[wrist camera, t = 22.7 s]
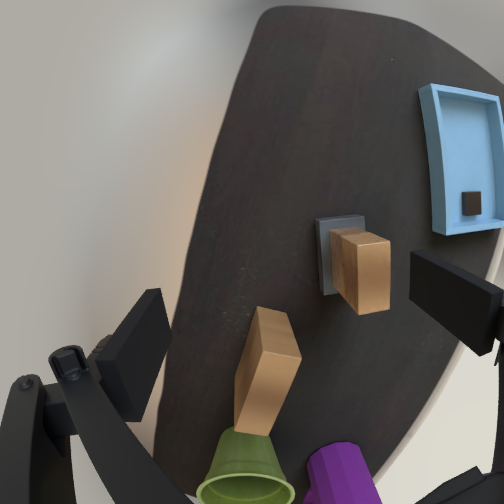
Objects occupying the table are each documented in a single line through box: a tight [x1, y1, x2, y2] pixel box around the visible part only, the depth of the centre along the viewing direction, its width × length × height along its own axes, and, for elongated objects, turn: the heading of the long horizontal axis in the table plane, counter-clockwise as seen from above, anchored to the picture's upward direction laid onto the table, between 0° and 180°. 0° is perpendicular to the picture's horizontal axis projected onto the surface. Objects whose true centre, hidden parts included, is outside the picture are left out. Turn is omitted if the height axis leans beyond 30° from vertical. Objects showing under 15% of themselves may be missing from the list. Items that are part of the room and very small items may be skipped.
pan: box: [418, 84, 504, 235], centre depth 30 cm, size 18×13×3 cm
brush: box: [315, 214, 390, 315], centre depth 29 cm, size 8×5×10 cm, turn 7°
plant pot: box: [196, 426, 295, 504], centre depth 34 cm, size 12×12×11 cm
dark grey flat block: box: [462, 191, 482, 216], centre depth 32 cm, size 3×3×1 cm
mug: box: [303, 442, 382, 504], centre depth 35 cm, size 9×16×15 cm, turn 158°
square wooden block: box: [234, 306, 302, 436], centre depth 31 cm, size 10×4×10 cm, turn 164°
